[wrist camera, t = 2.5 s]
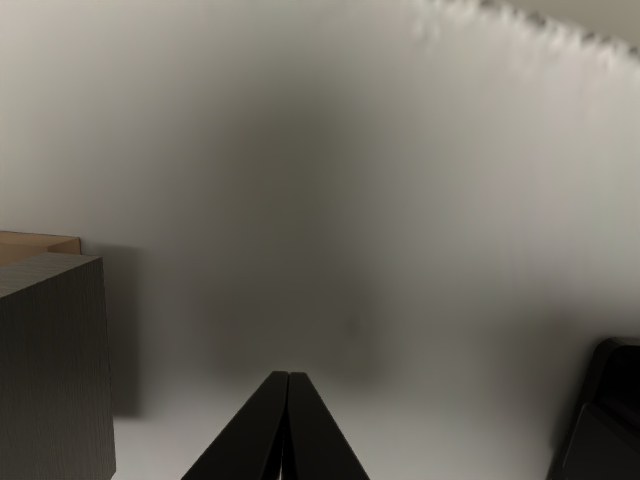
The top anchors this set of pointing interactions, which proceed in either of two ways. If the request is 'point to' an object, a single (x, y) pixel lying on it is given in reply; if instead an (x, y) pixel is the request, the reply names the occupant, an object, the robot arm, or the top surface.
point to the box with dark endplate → (55, 370)
